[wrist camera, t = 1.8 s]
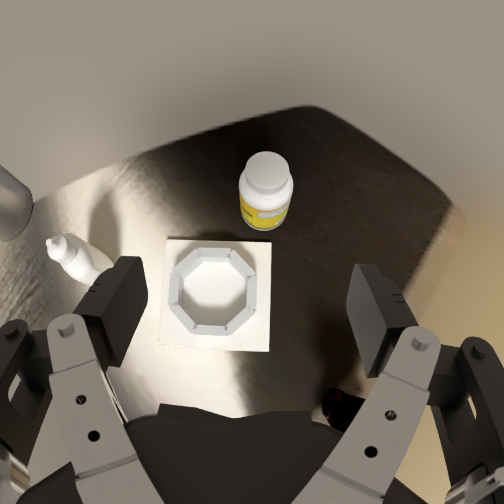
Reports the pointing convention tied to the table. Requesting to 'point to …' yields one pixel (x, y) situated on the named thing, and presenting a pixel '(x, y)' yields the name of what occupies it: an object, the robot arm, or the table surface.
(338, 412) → the cat figurine
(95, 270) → the eye dropper bottle
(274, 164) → the supplement bottle
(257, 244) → the barrel socket
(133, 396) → the table surface
